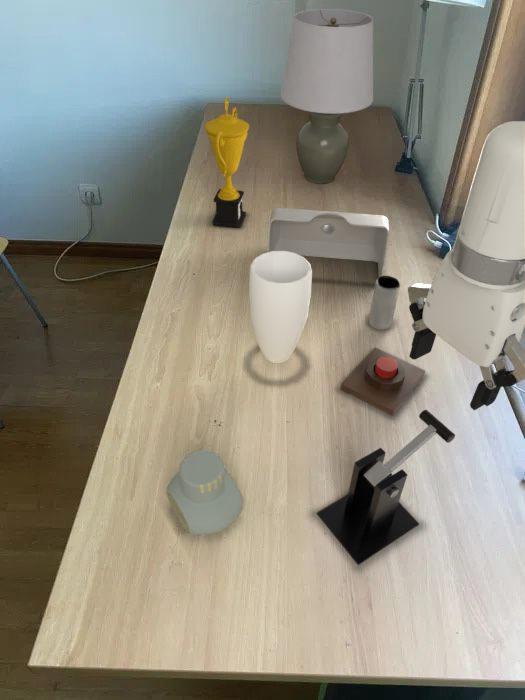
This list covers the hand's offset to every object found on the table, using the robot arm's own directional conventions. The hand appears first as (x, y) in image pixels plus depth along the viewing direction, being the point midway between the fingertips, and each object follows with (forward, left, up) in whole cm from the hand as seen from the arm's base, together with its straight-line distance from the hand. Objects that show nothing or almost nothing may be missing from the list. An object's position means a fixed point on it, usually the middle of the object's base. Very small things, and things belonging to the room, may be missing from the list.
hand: (448, 378), depth 67 cm
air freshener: (+27, -14, -24) cm, 38 cm away
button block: (-11, -19, -24) cm, 32 cm away
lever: (+4, 0, -12) cm, 12 cm away
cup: (+2, -33, -24) cm, 40 cm away
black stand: (+9, 0, -24) cm, 25 cm away
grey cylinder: (-22, -32, -24) cm, 45 cm away
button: (-11, -19, -20) cm, 29 cm away
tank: (-26, -55, -24) cm, 65 cm away
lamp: (-52, -91, -24) cm, 107 cm away
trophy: (-17, -82, -24) cm, 87 cm away
